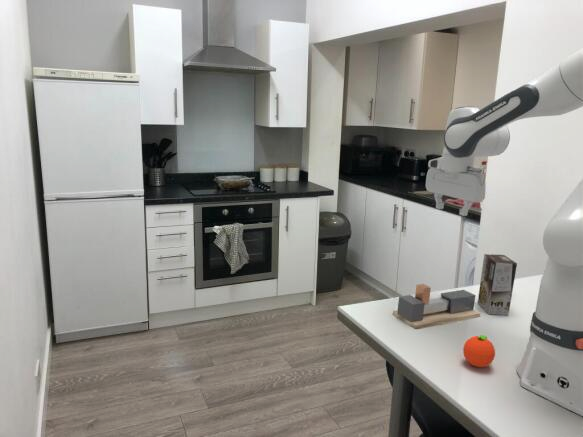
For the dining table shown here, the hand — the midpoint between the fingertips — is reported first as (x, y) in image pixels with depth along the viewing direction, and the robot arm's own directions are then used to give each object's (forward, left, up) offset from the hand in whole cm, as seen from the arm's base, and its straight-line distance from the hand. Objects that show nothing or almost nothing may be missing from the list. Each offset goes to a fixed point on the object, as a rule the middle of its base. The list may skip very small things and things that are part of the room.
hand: (451, 211), depth 139 cm
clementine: (-31, +17, -29) cm, 46 cm away
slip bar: (-6, +10, -27) cm, 29 cm away
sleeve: (-6, -1, -28) cm, 29 cm away
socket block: (-6, +17, -28) cm, 33 cm away
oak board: (-6, +7, -29) cm, 30 cm away
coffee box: (-8, -14, -29) cm, 33 cm away
